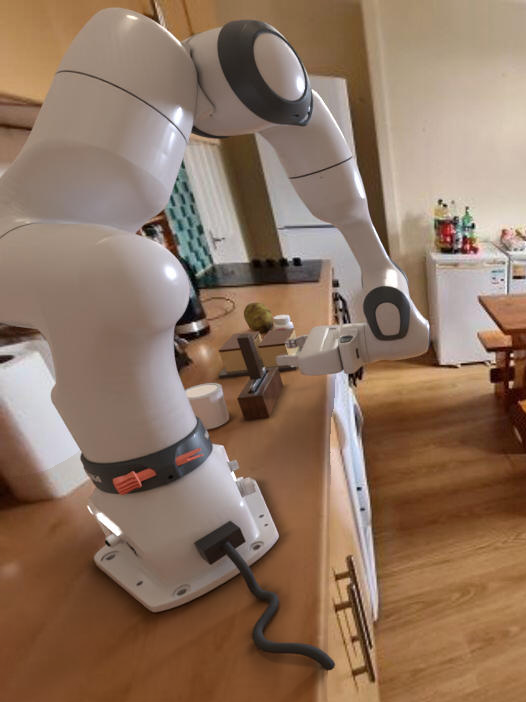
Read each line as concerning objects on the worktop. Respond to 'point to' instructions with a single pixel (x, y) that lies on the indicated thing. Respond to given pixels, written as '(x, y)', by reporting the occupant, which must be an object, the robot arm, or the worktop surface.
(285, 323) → the pill bottle
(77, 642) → the worktop surface
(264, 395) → the knife block
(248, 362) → the knife
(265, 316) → the kiwi fruit
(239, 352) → the cake
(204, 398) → the white cylinder
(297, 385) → the worktop surface
